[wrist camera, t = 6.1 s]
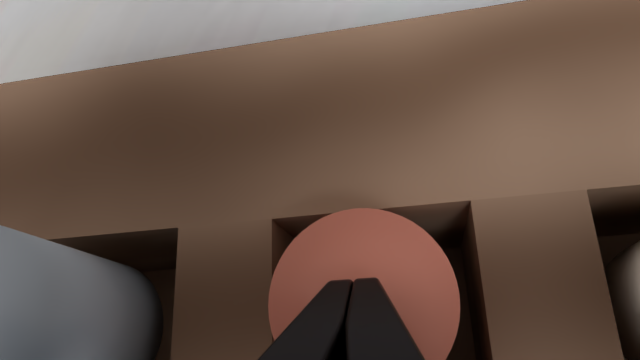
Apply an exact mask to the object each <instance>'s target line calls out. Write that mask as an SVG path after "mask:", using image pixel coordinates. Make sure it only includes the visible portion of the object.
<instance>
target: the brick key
mask: <svg viewBox="0 0 640 360" xmlns="http://www.w3.org/2000/svg"><path fill="white" fill-rule="evenodd" d="M371 277H376V278H378V279H379V281H380V282H381V284H382V286H383V288H384V289H385V291H386V293H387V294H388V296H389V298H390V300H391V301H392V303H393V305H394V307H395V308H396V310H397V312H398V313H399V315H400V317H401V319H402V320H403V322H404V324H405V326H406V327H407V329H408V331H409V332H410V334H411V336H412V338H413V339H414V341H415V343H416V345H417V346H418V348H419V350H420V351H421V353H422V355H423V357H424V358H425V360H446V358H447V356H448V354H449V352H450V350H451V349H452V346H453V343H454V341H455V338H456V335H457V330H458V326H459V319H460V294H459V289H458V284H457V280H456V277H455V274H454V271H453V268H452V266H451V264H450V262H449V260H448V258H447V256H446V255H445V253H444V252H443V250H442V249H441V247H440V246H439V245H438V244H437V242H436V241H435V240H434V239H433V238H432V237H431V236H430V235H429V234H428V233H427V232H426V231H425V230H424V229H422V228H421V227H419V226H418V225H417V224H415V223H414V222H412V221H410V220H408V219H406V218H404V217H403V216H400V215H397V214H395V213H392V212H389V211H384V210H380V209H371V208H355V209H349V210H343V211H339V212H336V213H332V214H330V215H328V216H325V217H323V218H321V219H319V220H318V221H316V222H314V223H312V224H311V225H310V226H308V227H307V228H306V229H304V230H303V231H302V232H301V233H300V234H299V235H298V236H297V237H296V238H295V239H294V240H293V241H292V242H291V243H290V245H289V246H288V247H287V248H286V250H285V252H284V253H283V255H282V257H281V258H280V260H279V262H278V264H277V267H276V269H275V271H274V274H273V278H272V281H271V285H270V291H269V301H268V312H269V322H270V327H271V332H272V335H273V338H274V341H275V340H276V338H277V337H278V336H279V335H280V334H281V333H282V332H283V331H284V330H285V329H286V327H287V326H288V325H289V324H290V323H291V322H292V321H293V320H294V319H295V318H296V316H297V315H298V314H299V313H300V312H301V311H302V310H303V309H304V308H305V306H306V305H307V304H308V303H309V302H310V301H311V300H312V299H313V298H314V297H315V295H316V294H317V293H318V292H319V291H320V290H321V289H322V288H323V287H324V285H325V284H326V283H327V282H329V281H331V280H342V279H351V280H352V281H353V282H354V280H355V279H358V278H371Z"/></svg>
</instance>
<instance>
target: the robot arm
mask: <svg viewBox="0 0 640 360" xmlns="http://www.w3.org/2000/svg"><path fill="white" fill-rule="evenodd" d="M257 360H425V358H424V357H423V355H422V353H421V351H420V350H419V348H418V346H417V345H416V343H415V341H414V339H413V338H412V336H411V334H410V332H409V331H408V329H407V327H406V326H405V324H404V322H403V320H402V319H401V317H400V315H399V313H398V312H397V310H396V308H395V307H394V305H393V303H392V301H391V300H390V298H389V296H388V294H387V293H386V291H385V289H384V288H383V286H382V284H381V282H380V281H379V279H378V278H376V277H371V278H358V279H355V280H354V282H353V281H352V280H351V279H342V280H331V281H329V282H327V283H326V284H325V285H324V287H323V288H322V289H321V290H320V291H319V292H318V293H317V294H316V295H315V297H314V298H313V299H312V300H311V301H310V302H309V303H308V304H307V305H306V306H305V308H304V309H303V310H302V311H301V312H300V313H299V314H298V315H297V316H296V318H295V319H294V320H293V321H292V322H291V323H290V324H289V325H288V326H287V327H286V329H285V330H284V331H283V332H282V333H281V334H280V335H279V336H278V337H277V338H276V340H275V341H274V342H273V343H272V344H271V345H270V346H269V347H268V348H267V350H266V351H265V352H264V353H263V354H262V355H261V356H260V357H259V358H258V359H257Z"/></svg>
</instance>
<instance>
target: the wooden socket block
mask: <svg viewBox="0 0 640 360" xmlns="http://www.w3.org/2000/svg"><path fill="white" fill-rule="evenodd" d="M355 208H371V209H380V210H384V211H389V212H392V213H395V214H397V215H400V216H403V217H404V218H406V219H408V220H410V221H412V222H414V223H415V224H417V225H418V226H419V227H421V228H422V229H424V230H425V231H426V232H427V233H428V234H429V235H430V236H431V237H432V238H433V239H434V240H435V241H436V242H437V244H438V245H439V246H440V247H441V249H442V250H443V252H444V253H445V255H446V256H447V258H448V260H449V262H450V264H451V266H452V268H453V271H454V274H455V277H456V280H457V284H458V289H459V294H460V319H459V326H458V330H457V335H456V338H455V341H454V343H453V346H452V349H451V350H450V352H449V354H448V356H447V358H446V360H629V359H627V358H626V357H625V356H624V355H623V353H622V348H621V344H620V339H619V335H618V330H617V326H616V321H615V316H614V312H613V307H612V303H611V298H610V294H609V289H608V285H607V280H606V276H605V271H604V270H605V269H606V267H607V266H608V264H609V263H610V262H611V261H612V260H613V259H614V258H615V257H616V256H617V255H618V254H620V253H621V252H622V251H624V250H625V249H627V248H629V247H630V246H632V245H634V244H635V243H637V242H638V241H640V0H526V1H519V2H513V3H507V4H500V5H494V6H488V7H481V8H475V9H469V10H463V11H456V12H450V13H444V14H437V15H431V16H425V17H419V18H412V19H406V20H400V21H393V22H387V23H381V24H374V25H368V26H362V27H356V28H349V29H343V30H337V31H330V32H324V33H318V34H311V35H305V36H299V37H293V38H286V39H280V40H274V41H267V42H261V43H255V44H249V45H242V46H236V47H230V48H223V49H217V50H211V51H204V52H198V53H192V54H186V55H179V56H173V57H167V58H160V59H154V60H148V61H141V62H135V63H129V64H123V65H116V66H110V67H104V68H97V69H91V70H85V71H79V72H72V73H66V74H60V75H53V76H47V77H41V78H34V79H28V80H22V81H16V82H9V83H3V84H0V225H1V226H5V227H8V228H11V229H14V230H17V231H20V232H24V233H27V234H30V235H33V236H36V237H39V238H42V239H45V240H49V241H52V242H55V243H58V244H61V245H64V246H67V247H71V248H74V249H77V250H80V251H83V252H86V253H89V254H92V255H96V256H99V257H102V258H105V259H108V260H111V261H114V262H118V263H121V264H124V265H127V266H130V267H132V268H134V269H136V270H138V271H139V272H141V273H142V274H144V275H145V276H146V277H147V278H148V279H149V280H150V282H151V283H152V284H153V286H154V287H155V289H156V291H157V293H158V295H159V298H160V301H161V305H162V309H163V335H162V340H161V344H160V347H159V350H158V353H157V355H156V357H155V360H257V359H258V358H259V357H260V356H261V355H262V354H263V353H264V352H265V351H266V350H267V348H268V347H269V346H270V345H271V344H272V343H273V342H274V338H273V335H272V332H271V327H270V322H269V312H268V301H269V291H270V285H271V281H272V278H273V274H274V271H275V269H276V267H277V264H278V262H279V260H280V258H281V257H282V255H283V253H284V252H285V250H286V248H287V247H288V246H289V245H290V243H291V242H292V241H293V240H294V239H295V238H296V237H297V236H298V235H299V234H300V233H301V232H302V231H303V230H304V229H306V228H307V227H308V226H310V225H311V224H312V223H314V222H316V221H318V220H319V219H321V218H323V217H325V216H328V215H330V214H332V213H336V212H339V211H343V210H349V209H355Z"/></svg>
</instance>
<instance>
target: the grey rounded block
mask: <svg viewBox="0 0 640 360" xmlns="http://www.w3.org/2000/svg"><path fill="white" fill-rule="evenodd" d="M162 335H163V309H162V305H161V301H160V298H159V295H158V293H157V291H156V289H155V287H154V286H153V284H152V283H151V282H150V280H149V279H148V278H147V277H146V276H145V275H144V274H142V273H141V272H139V271H138V270H136V269H134V268H132V267H130V266H127V265H124V264H121V263H118V262H114V261H111V260H108V259H105V258H102V257H99V256H96V255H92V254H89V253H86V252H83V251H80V250H77V249H74V248H71V247H67V246H64V245H61V244H58V243H55V242H52V241H49V240H45V239H42V238H39V237H36V236H33V235H30V234H27V233H24V232H20V231H17V230H14V229H11V228H8V227H5V226H1V225H0V360H155V357H156V355H157V353H158V350H159V347H160V344H161V340H162Z"/></svg>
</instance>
